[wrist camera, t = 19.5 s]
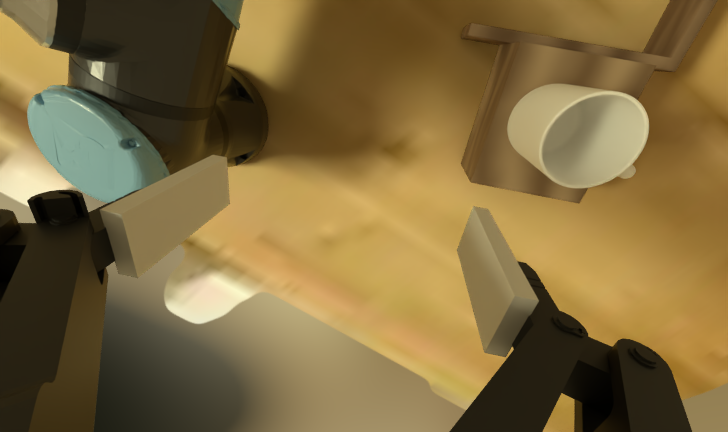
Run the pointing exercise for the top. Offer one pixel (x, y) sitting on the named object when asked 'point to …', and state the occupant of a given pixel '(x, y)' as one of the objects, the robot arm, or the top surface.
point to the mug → (579, 133)
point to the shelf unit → (562, 66)
